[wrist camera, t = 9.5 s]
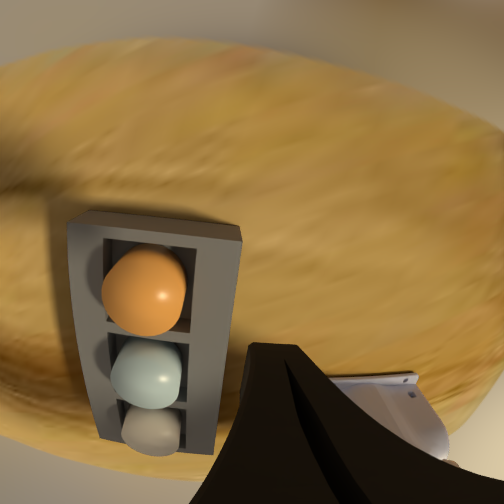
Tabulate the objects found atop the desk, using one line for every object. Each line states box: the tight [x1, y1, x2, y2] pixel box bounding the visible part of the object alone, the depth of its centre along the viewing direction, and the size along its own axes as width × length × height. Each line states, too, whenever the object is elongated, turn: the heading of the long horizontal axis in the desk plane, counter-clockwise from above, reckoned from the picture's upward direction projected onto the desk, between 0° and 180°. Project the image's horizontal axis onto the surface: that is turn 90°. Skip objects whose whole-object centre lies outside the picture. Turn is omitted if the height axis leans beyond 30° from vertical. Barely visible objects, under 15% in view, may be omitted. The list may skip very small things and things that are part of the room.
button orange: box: [102, 243, 188, 336], centre depth 15 cm, size 4×4×3 cm
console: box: [67, 210, 243, 455], centre depth 18 cm, size 9×17×3 cm, turn 171°
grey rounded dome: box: [110, 336, 183, 409], centre depth 17 cm, size 4×4×3 cm
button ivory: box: [121, 403, 182, 456], centre depth 18 cm, size 4×4×3 cm
